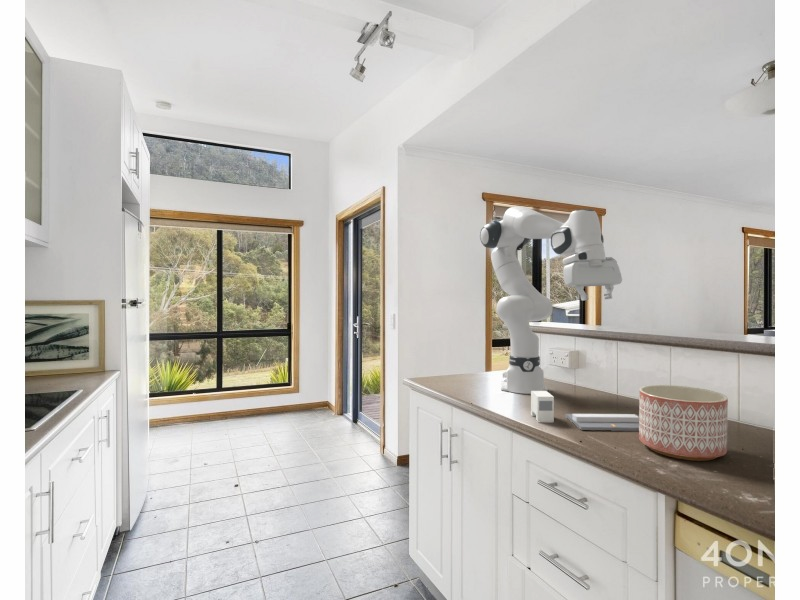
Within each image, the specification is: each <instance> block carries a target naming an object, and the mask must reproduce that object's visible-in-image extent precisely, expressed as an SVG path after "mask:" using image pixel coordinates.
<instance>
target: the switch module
mask: <svg viewBox="0 0 800 600" xmlns="http://www.w3.org/2000/svg"><path fill="white" fill-rule="evenodd" d="M554 407H555V396H553V395H552V394H551V393H550V392H548V391H531V394H530V416H531V415H532V416H531V417H535V421H536V420H537V421H540V422H539V423H554V422H555V421H554V420H555V411H554V410H555V408H554ZM537 421H536V422H537Z"/></svg>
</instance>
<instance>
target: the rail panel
mask: <svg viewBox="0 0 800 600" xmlns="http://www.w3.org/2000/svg"><path fill="white" fill-rule="evenodd" d="M564 417H565V418H566V419H567V418H568V419H569V420H570V421H569V420H568V419H567V420H568V421H569V422H571V423H572V422H573V423H574V424H575V425H576V426H577V427H576V426H575V425H574V424H573V423H572V424H573V425H574V426H575V427H576V428H578V427H579V428H580V429H581V430H611V431H613V432H615V431H617V432H639V415H637V414H635V413H633V414H632V413H631V414H630V413H564ZM579 428H578V429H579ZM580 429H579V430H580ZM581 430H580V431H581ZM611 431H610V432H611Z"/></svg>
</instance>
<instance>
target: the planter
mask: <svg viewBox="0 0 800 600" xmlns="http://www.w3.org/2000/svg"><path fill="white" fill-rule="evenodd" d="M638 396H639V403H638V404H639V407H638V408H639V410H638V417H639V431H638V439H639V441H640V442H641V443H642V444H643V445H645V446H646V447H648V448H649V449H650V450H652V451H653V452H655V453H658V454H660V455H663V456H666V457H669V458H673V459H679V460H684V461H685V460H686V461H695V462H699V461H700V462H701V461H702V462H703V461H704V462H705V461H712V460H715V459H717V458H719V457H723V456H725V455H726V454H727V453H728V405H729V404H728V403H729V401H728V399H729V398H728V396H726V395H725V394H723V393H721V392H718V391H715V390H714V391H713V390H710V389H705V388H699V387H694V386H687V385H685V386H684V385H674V384H650V385H644V386H641V387H639V395H638Z"/></svg>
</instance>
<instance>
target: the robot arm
mask: <svg viewBox="0 0 800 600" xmlns="http://www.w3.org/2000/svg"><path fill="white" fill-rule="evenodd" d="M598 216H599V215H598V213H597V211H595V210H594V209H589V208H583V209H575V210H573V211H571V212H570V214H569V216H568V219H566V221H565V222H563V221H560V220H557V219H555V218H552V217H551V216H548V215H546V214H543V213H541V212H538V211H536V210H534V209H532V208H530V207H529V208H528V207H525V206H519V205H518V206H515V205H514V206H512V207H511V206H510V207H509V208H507V210H506V211H505V212H504V213H503V217H502V219H501V220H500V221H497V220H496V219H495V220H493V221H491V222H489V223H486V224H484V225H483V226H482V228H481V229H480V232H479V233H480V234H479V239H480V243H481V244H482V245H483V247H484V248H488V249H493V250H492V251H491V253H490V259H491V265H492V269H493V271H494V273H495V276H496V279H497V281H498V284H499V286H500V289H501V290H502V291H503V292H504V293H506V294H507V296H503V297H501V298H499V300H498V302H497V303H496V308H495V309H496V315H497V316H498V318H499V319H500V320H501V321H502V322H503V324H505V326H506V328H507V330H508V334H509V340H510V355H509V359H508V363H509V365H508V367H507V369H506V371H503V372H502V378H503V379H504V380H501V384H500V390H501V391H504V392H505V391H506V392H510V393H515V394H526V395H531V391H547V392H548V391H549V388H548V387H547V386H545V375H544V370H543V369H542V368H541V367H540V365H541V359H540V358H541V357H540V355H539V354H540V353H539V351H540V350H539V349H540V347H539V345H540V340H539V335H537V334H536V333H535V332H533V330H532V328H531V325H530V323H532V322H541V321H543V320H547V319H549V318H550V317H551V315H552V313H553V311H554V308H553V307H554V306H553V303H552V301H551V299H550V298H549V297H547V296H545V295H544V294H542V293H541V292H539V290H537V289H536V287H534V285H533V284H532V282H530V281H529V279H528V278H527V275H526V274H525V272H524V268H522V265H521V263H520V261H519V260H518V256H517V254H516V253H517V252H516V251H521V250H523V248H524V246H525V245H528V242H529V240H541V239H542V240H543V239H545V240H548V239H549V240H550V246H551V249H552V250H553V252H554V253H555V254H557V255H561V256H567V257H565V258H563V259H562V264H563V265H564V266H563V271H562V272H563V273H562V274H563V282H564V284H565V286H566V287H567V288H575V290H576V292H577V293H578V295H579V296H580V300H581V301H582V302H583V301H588V300H589V293H588V294H587V293H586V292H585V290H584V289H585V287H601V286H602V287H603V286H604V289H605V290H606V292H605V293H603V296H604V298H603V299H604V300H611V299H613V295H612V294H613V290H614V286H616V285H620V284H622V282H623V278H622V277H623V276H622V273H621V270H620V267H619V264H618V262H617V260H616V259H614V257H613V256H609V257H607V256H606V253H605V247H604V243H605V242H604V235H603V233H602V228H601V223H600V222H601V221H600V219H599V217H598Z"/></svg>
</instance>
